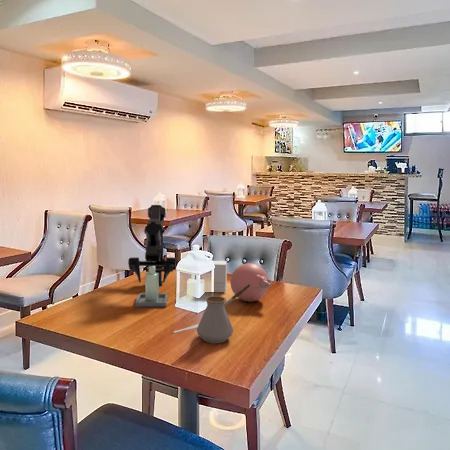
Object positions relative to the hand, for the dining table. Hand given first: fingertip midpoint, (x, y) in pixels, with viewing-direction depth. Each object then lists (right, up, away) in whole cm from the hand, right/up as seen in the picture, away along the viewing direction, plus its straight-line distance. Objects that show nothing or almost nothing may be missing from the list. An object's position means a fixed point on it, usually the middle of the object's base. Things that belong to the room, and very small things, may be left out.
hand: (151, 282), depth 160 cm
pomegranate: (+39, -9, +6) cm, 41 cm away
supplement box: (+25, -7, +20) cm, 33 cm away
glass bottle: (0, -8, +3) cm, 8 cm away
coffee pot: (+29, -13, -27) cm, 42 cm away
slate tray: (0, -8, +2) cm, 9 cm away
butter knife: (+11, -13, -27) cm, 32 cm away
